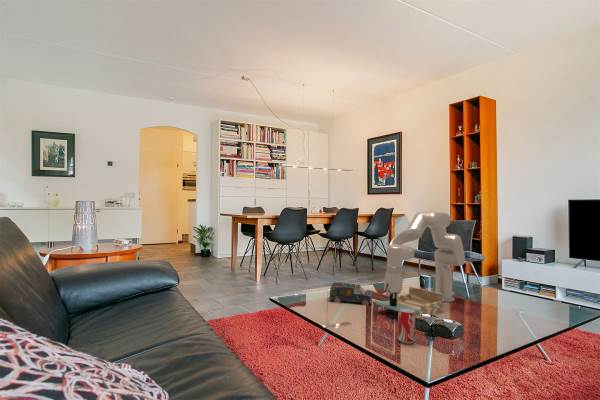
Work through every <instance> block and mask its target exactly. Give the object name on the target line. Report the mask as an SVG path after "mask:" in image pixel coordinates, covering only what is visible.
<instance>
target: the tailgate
mask: <svg viewBox="0 0 600 400" xmlns="http://www.w3.org/2000/svg"><path fill="white" fill-rule="evenodd" d="M375 305H379V306H381V307H384V308H386V309H387V310H389V311H390V310H391V311H394V312H398V311H400V310H399V309H400V308H409V309H413V310H414V311H415V313H417V312H420V310H419V309H416V308H412V307H409V306H406V305H402V304H399V303H397V306H391V305H390V300H381V301H380V300H379V301H377V300H376V301H375Z"/></svg>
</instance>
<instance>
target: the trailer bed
mask: <svg viewBox="0 0 600 400" xmlns="http://www.w3.org/2000/svg"><path fill="white" fill-rule="evenodd" d="M408 290H409V291H408V293H405V294H402V295H398V298H397V303H399V304H402V305H406V306H409V307H412V308H416V309H419V310H420V312H417V313H415V314H430V315H432V316H434V315H437V314H441V313H443V301H442V298H443V294H441V293H437V292H435V291H433V290H428V289H424V288H419V287H414V286H409V287H408ZM397 312H399V311H397Z"/></svg>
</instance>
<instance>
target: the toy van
mask: <svg viewBox="0 0 600 400" xmlns="http://www.w3.org/2000/svg"><path fill="white" fill-rule="evenodd" d="M372 295H373V294H372V291H371V290H366V289H365V288H363V286H362V285H360V284H356V283H348V282H333V283H332V284H331V286H330V289H329V297H328V299H329V301H331V300H332V301H333V302H334V303H337V302H338V303H337V304H339V303H340V302H341V303H342V302H351V303H361V304H362V305H363V306H369V304H372V301H373V300H372V299H373V298H372Z"/></svg>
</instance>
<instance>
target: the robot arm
mask: <svg viewBox="0 0 600 400" xmlns="http://www.w3.org/2000/svg"><path fill="white" fill-rule="evenodd" d="M451 222H452V221H451V215H450V214H449V213H447V212H437V211H435V212H434V211H419V212H417V213H415V215H414V216H413V218H412V220H411V221H410V223H409V224H408V226H407V227H406V229H404V230H403V231H401V232H400V233H398V234H396V235H394V237H393V238H391V241H390V243H389V244H388V246H387V250H386V252H387V253H386V254H387V255H386V271H385V275H384V281H383V291H384V292H385V295H386V296H388V297H389V301H390V305H391V306H397V298H398V296H399V294H401V293H402V290H403V282H404V281H403V274H402V273H403V260H405V261H410V260H412V259H413V258H414V257H415V253H416V252H415V249H414V248H413V247H412V246H410V245H404V244H406V243H410V242H414V241H416V240H419V239H421V238H422V236H423V233H424V232H425V230H426V228H429V229H430V232H431V236H432V240H433V244H434V246H435V248H437V249H436V250H435V251H434V254H433V256H434V263H435V288H434V289H435V291H434V292H437V293H441V294H443V298H442V302H448V303H449V302H450V303H451V302H455V297H453V296H454V295H455V292H454V291H453V270H452V267H450V266H456V267H457V266H458V267H461V266H463V265H464V264H465V262H466V258H465V257H466V256H465V252H464V246H463V241H462V238H461V237H460V236H459V235H458V234H453V233H448V232H447V229H446V228H447V227H449V226H450V224H451Z"/></svg>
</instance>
